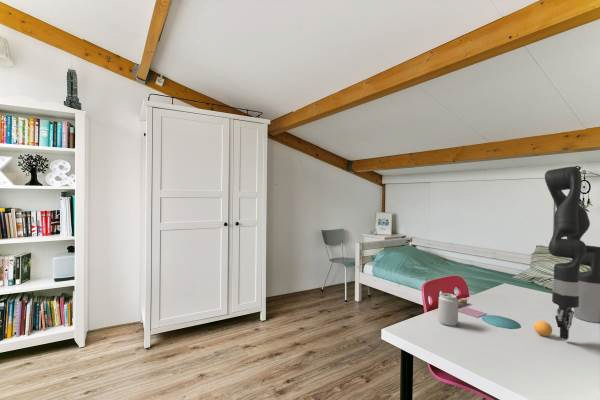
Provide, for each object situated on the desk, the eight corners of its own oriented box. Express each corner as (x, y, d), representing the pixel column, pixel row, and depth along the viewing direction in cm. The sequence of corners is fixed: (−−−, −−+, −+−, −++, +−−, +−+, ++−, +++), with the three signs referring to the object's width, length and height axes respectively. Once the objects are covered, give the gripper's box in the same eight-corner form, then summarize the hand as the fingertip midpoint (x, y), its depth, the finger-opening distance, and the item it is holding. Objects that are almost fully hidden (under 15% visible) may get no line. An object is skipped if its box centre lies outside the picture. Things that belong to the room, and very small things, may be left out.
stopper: (462, 302, 154) (463, 297, 154) (466, 303, 152) (467, 299, 152) (440, 309, 143) (440, 304, 143) (444, 311, 141) (444, 305, 141)
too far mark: (467, 307, 146) (467, 307, 146) (487, 314, 139) (487, 313, 139) (457, 311, 141) (457, 310, 141) (477, 317, 134) (477, 317, 134)
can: (453, 320, 131) (454, 292, 131) (460, 327, 123) (461, 298, 123) (435, 319, 131) (436, 291, 131) (441, 326, 124) (442, 297, 124)
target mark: (490, 313, 140) (490, 312, 140) (526, 324, 128) (526, 323, 128) (475, 319, 132) (475, 318, 132) (511, 331, 121) (511, 331, 121)
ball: (537, 331, 122) (537, 317, 122) (554, 336, 117) (554, 322, 117) (531, 334, 119) (532, 320, 118) (549, 339, 114) (549, 325, 114)
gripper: (558, 286, 119) (557, 330, 119) (547, 292, 112) (545, 338, 112) (583, 292, 113) (582, 337, 113) (573, 297, 105) (572, 347, 106)
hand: (564, 338), depth 112 cm, fingers closed
